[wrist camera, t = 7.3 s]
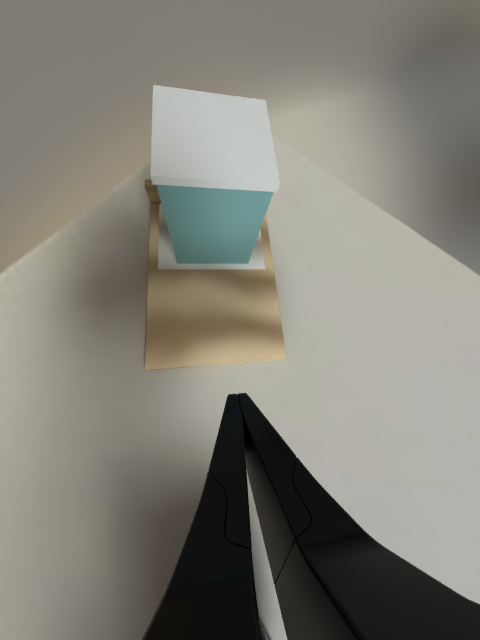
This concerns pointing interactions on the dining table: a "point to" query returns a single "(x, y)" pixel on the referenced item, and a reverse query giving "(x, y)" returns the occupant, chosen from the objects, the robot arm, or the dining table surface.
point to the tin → (212, 172)
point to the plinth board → (208, 304)
